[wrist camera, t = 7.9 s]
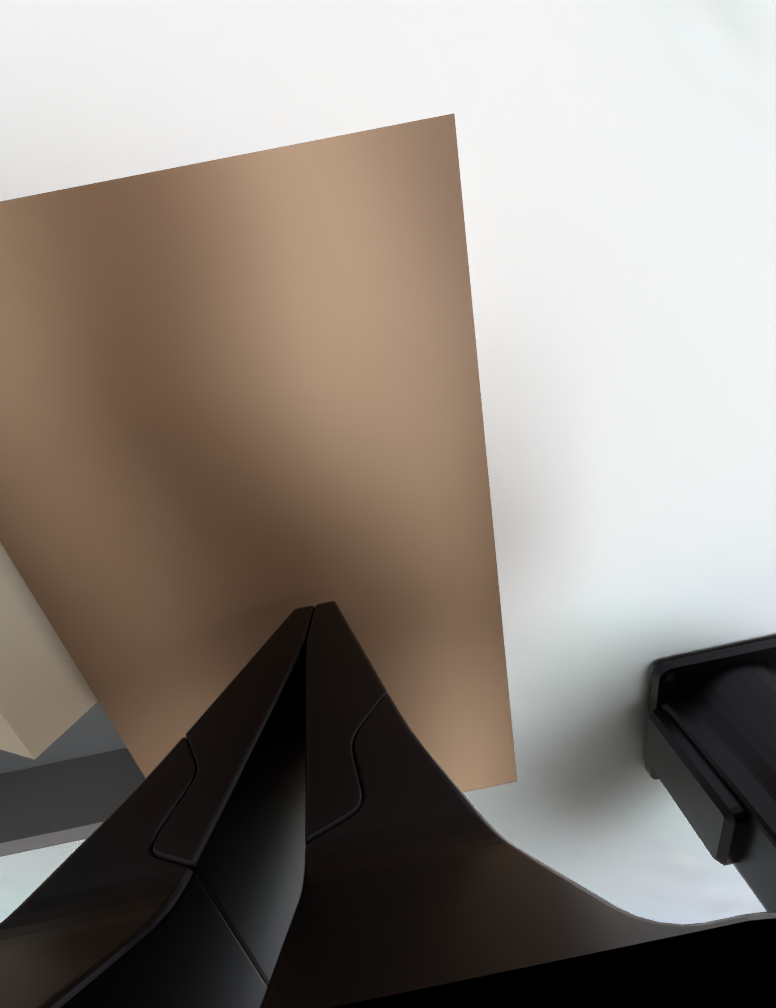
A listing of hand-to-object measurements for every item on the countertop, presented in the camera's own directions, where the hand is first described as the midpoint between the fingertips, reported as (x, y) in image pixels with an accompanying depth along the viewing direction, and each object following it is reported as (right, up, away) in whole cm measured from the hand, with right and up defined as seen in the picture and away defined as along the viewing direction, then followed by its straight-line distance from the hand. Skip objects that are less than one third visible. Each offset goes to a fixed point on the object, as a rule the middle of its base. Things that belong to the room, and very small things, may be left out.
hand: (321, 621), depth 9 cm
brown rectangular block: (-1, +2, +5) cm, 5 cm away
